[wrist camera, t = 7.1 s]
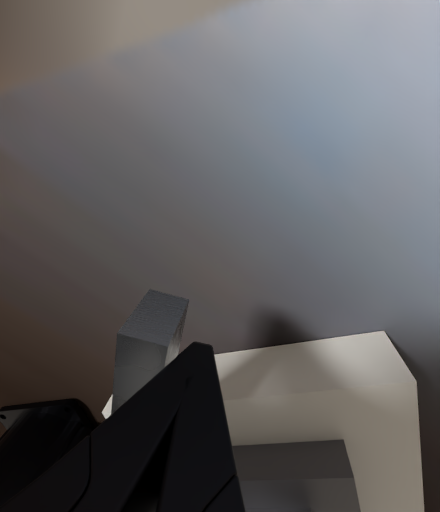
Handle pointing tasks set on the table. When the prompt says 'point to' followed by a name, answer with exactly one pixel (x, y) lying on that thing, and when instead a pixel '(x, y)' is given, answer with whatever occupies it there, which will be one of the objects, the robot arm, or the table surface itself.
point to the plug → (296, 477)
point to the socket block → (332, 409)
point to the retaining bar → (147, 343)
